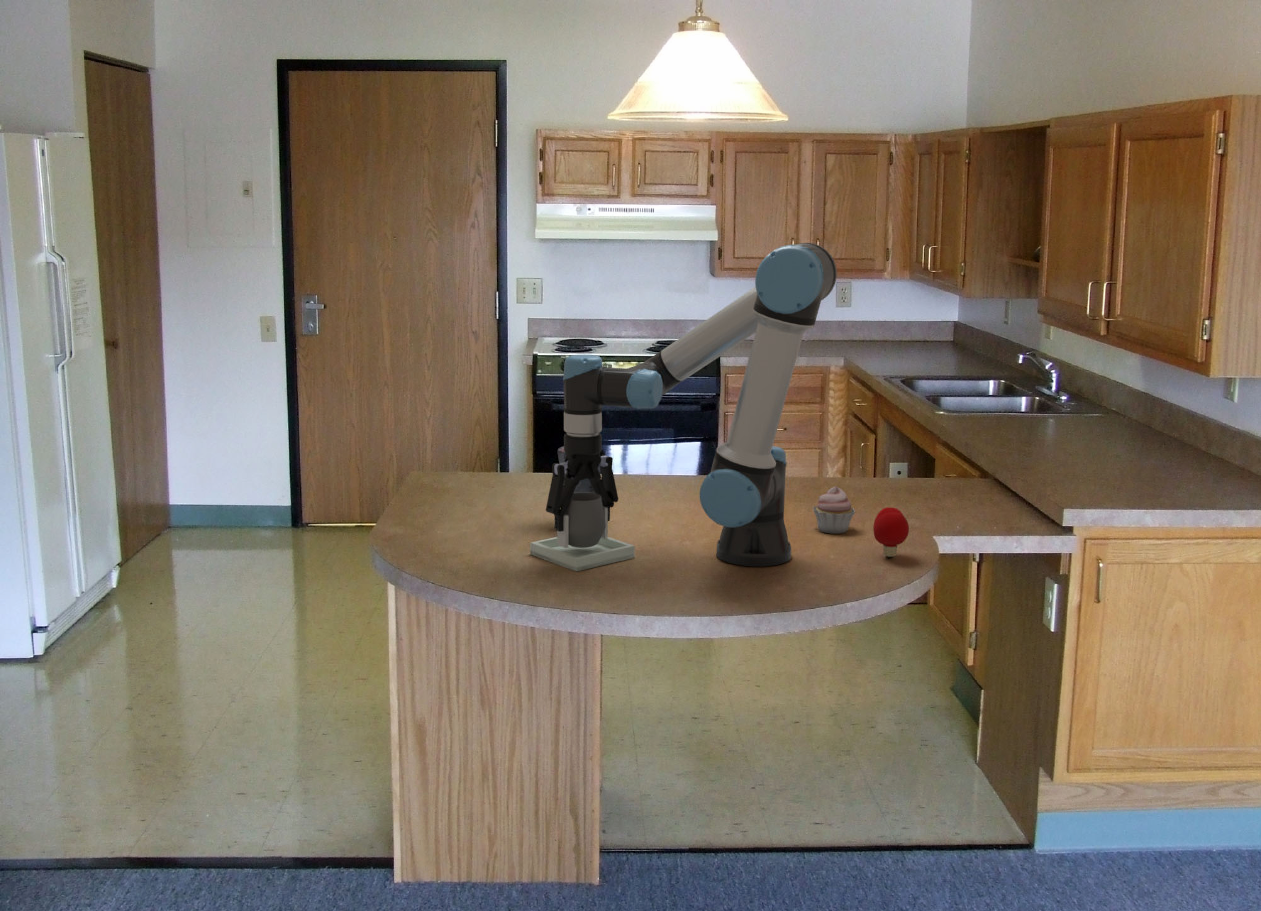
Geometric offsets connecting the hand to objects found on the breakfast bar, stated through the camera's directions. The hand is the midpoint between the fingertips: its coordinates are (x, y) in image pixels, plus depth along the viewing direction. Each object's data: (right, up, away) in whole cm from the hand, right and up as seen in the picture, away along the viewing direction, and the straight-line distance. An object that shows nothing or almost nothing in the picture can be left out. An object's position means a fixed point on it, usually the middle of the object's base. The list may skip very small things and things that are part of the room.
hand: (582, 541), depth 266 cm
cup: (0, -1, 0) cm, 1 cm away
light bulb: (+62, -4, +2) cm, 63 cm away
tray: (0, -3, +1) cm, 3 cm away
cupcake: (+54, +1, +22) cm, 58 cm away
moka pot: (-1, +2, +22) cm, 22 cm away
